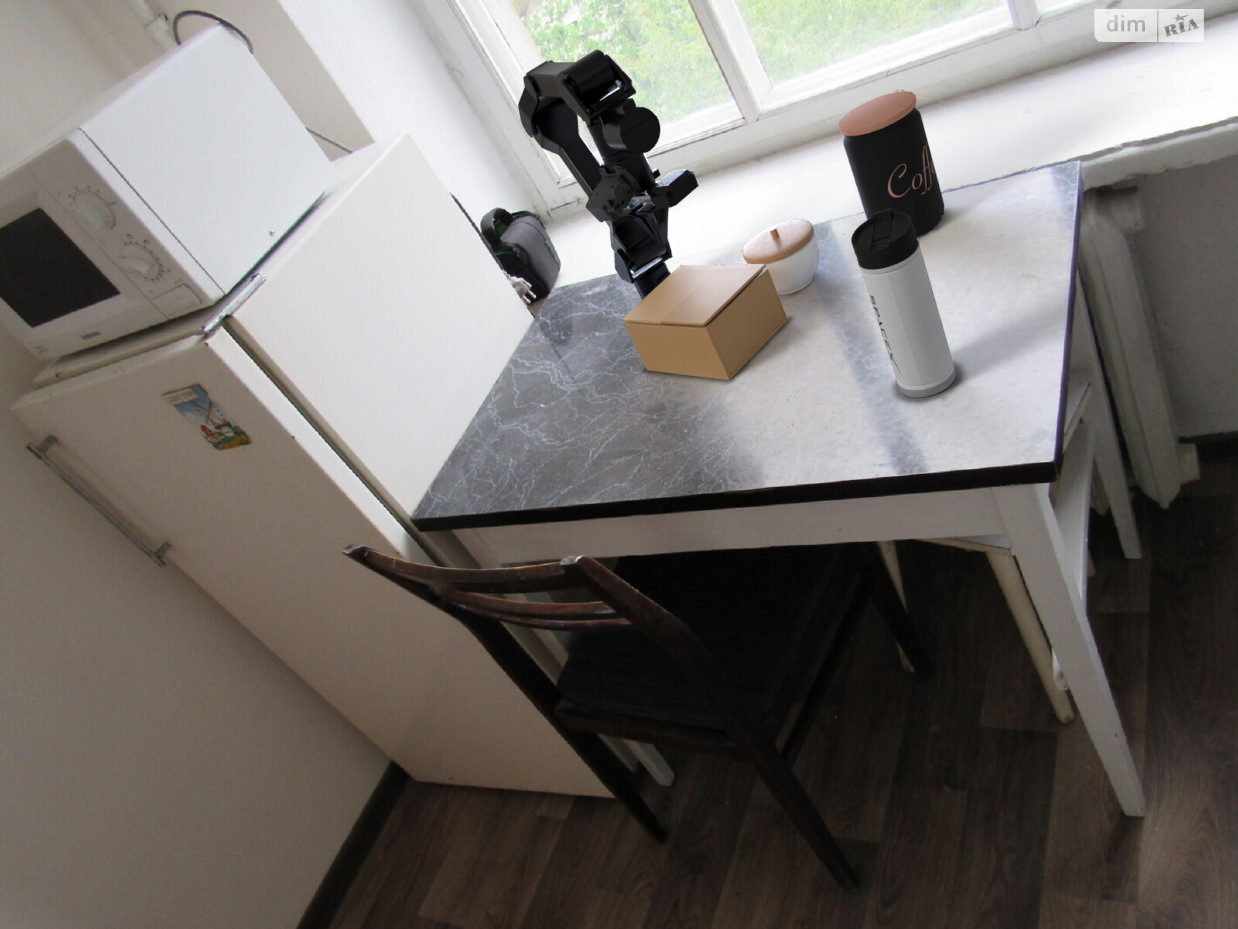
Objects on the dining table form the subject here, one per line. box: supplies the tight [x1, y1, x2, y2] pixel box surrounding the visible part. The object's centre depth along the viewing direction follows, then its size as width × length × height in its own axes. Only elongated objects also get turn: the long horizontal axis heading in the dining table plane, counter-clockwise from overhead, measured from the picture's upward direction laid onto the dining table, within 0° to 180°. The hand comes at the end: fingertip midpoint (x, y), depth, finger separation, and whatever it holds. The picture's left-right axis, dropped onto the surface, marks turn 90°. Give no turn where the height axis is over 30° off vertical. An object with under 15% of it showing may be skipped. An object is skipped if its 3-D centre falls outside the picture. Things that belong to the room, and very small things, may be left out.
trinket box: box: [741, 218, 820, 296], centre depth 128 cm, size 11×11×9 cm
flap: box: [621, 264, 721, 324], centre depth 125 cm, size 8×14×1 cm, turn 135°
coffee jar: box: [837, 90, 946, 238], centre depth 124 cm, size 11×11×18 cm
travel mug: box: [850, 208, 957, 398], centre depth 93 cm, size 6×7×20 cm
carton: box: [623, 263, 789, 381], centre depth 124 cm, size 17×14×9 cm
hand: (663, 243), depth 130 cm, fingers closed
